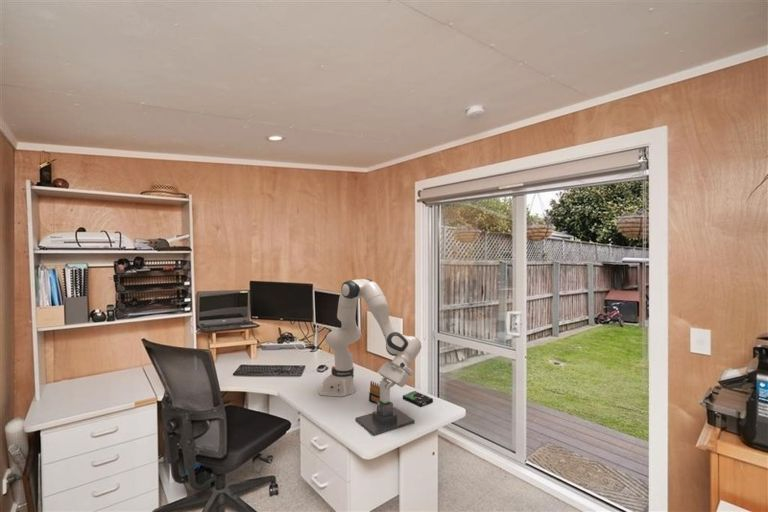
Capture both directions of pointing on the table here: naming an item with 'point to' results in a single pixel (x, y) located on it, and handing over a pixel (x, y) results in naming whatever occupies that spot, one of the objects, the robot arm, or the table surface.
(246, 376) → the table surface
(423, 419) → the table surface
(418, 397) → the disk drive
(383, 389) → the column
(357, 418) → the metal stepped base
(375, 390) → the ammunition clip
